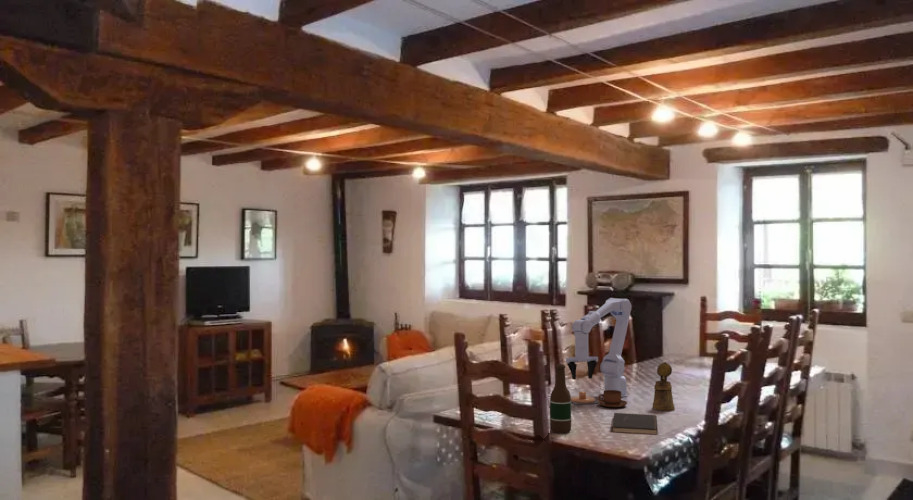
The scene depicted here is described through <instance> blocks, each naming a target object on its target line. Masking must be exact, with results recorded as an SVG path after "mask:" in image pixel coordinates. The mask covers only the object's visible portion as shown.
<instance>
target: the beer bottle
mask: <svg viewBox="0 0 913 500" xmlns="http://www.w3.org/2000/svg"><path fill="white" fill-rule="evenodd" d="M554 368H555V383H554V388H553V389H552V391H551V393H550V396H549V397H550V399H549V411H550V412H549V421H550V422H549V428H550V429H549V430H550V432H552V433H554V434H569V433H570V432H571V431H572V403H571V397H572V396H571V395H572V394H571V393H570V390H569V389H568V387H567V383H566V365H565V364H562V363H561V364H559V363H558V364H556V365H555V367H554Z"/></svg>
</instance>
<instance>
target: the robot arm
mask: <svg viewBox="0 0 913 500" xmlns="http://www.w3.org/2000/svg"><path fill="white" fill-rule="evenodd" d="M632 307H633V306H632V303H631V301H630V300H629V299H628V298H614V297H609V298H608V299H606V300H605V303H604V304H602V306H600V307H599V308H598V309H597V310H596V311H595V310H590V311H588V313H587V314H586V315H584V316H582V317H581V318H580V319H576V320H574V322H573V323H572V326H571V329H572V332H573V336H574V339H575V340H574V344H575V345H574V346H575V347H574V351H575V352H574V353H575V354H574V355H575V356H573V357H565V363H566V365H567V366H568V368H569V371H570V375H571V377H572V378H571V379H572V380H577V368H578V365H577V364H576V363H586V364H587V377H588V379H593V374H594V371H595V369H596V367H597V366H598V362H599V357H598V356H596V355H595V356H589V334H590V332H591V330H592V328H593V327H594V326H596V325H597V324H598V323H600V321H601V318H603V317H604V316H606V315H607V314H609V313H610V314H611V316H612V317H614V318H615V320H616V321H615V324H614V325H615V326H614V330H613V334H612V338H611V343H610V347H609V350H608V351H609V352H608V353H607V354H606V355H605V356H603V359H602V362H601V363H600V366H599V367H600V372H601V373H602V376H604V378H603V379H604V381H603V385H604V389H603V392H601V393H600V394H604V391H606V390H617V391H621V398H622V397H623V398H624V397H628V394H627V390H628V389H627V379H626V377H625V376H624V372H625V362H626V361H625V360H624V358H623V357H622V352H623V349H624V344H625V340H626V336H627V331H628V326H629V323H630V317H631V316H630V315H631V311H632Z"/></svg>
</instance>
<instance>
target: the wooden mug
mask: <svg viewBox="0 0 913 500" xmlns="http://www.w3.org/2000/svg"><path fill="white" fill-rule="evenodd" d="M672 370H673V369H672V366H671V365H670V364H669V363H668V362H666V361H665V362H662V363H661V364H658V366H657V368H656V373H657V375H658V376H659V377H660V380H655V384H654V396H653V402H652V409H653V410H656V411H661V412H667V411H668V412H669V411H675V403H674V399H673V391H672V389H673V388H672V387H673V386H672V383H671V381H667V380H668V377H670V375H672V372H673V371H672Z"/></svg>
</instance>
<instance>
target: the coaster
mask: <svg viewBox="0 0 913 500" xmlns="http://www.w3.org/2000/svg"><path fill="white" fill-rule="evenodd" d="M595 400H596V401H595V402H592V403H576V402H572V401H571V404H573V405H575V406H582V405H595V404H596V405H600V404H599V403H598V401H599V400H598V399H595Z"/></svg>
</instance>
